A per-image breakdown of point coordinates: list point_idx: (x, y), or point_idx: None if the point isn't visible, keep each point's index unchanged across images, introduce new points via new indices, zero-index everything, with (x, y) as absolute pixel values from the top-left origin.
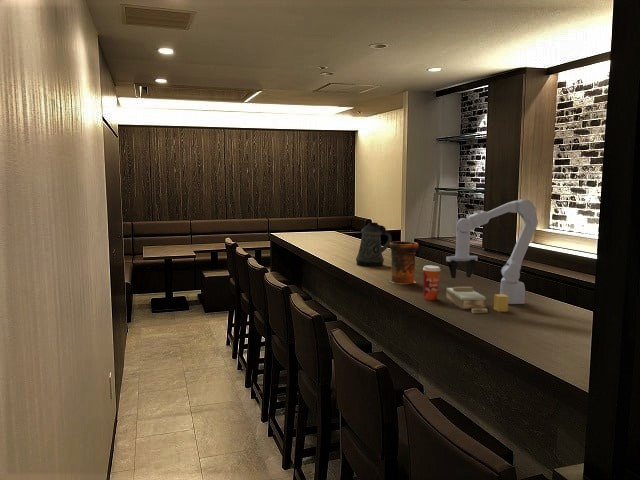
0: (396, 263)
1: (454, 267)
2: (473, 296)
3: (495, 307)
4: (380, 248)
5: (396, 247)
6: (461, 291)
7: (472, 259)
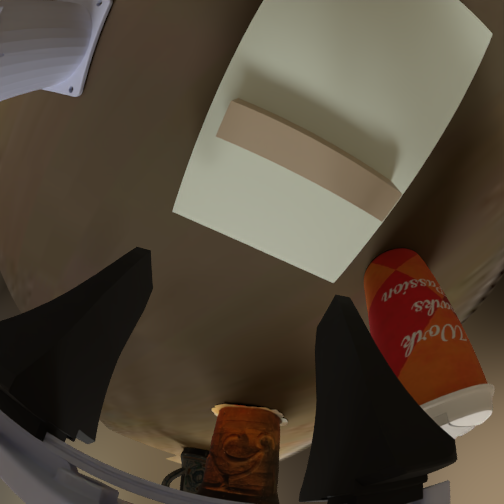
0: (278, 468)
1: (408, 406)
2: None
3: None
4: (188, 475)
5: None
6: (344, 143)
7: (12, 423)
